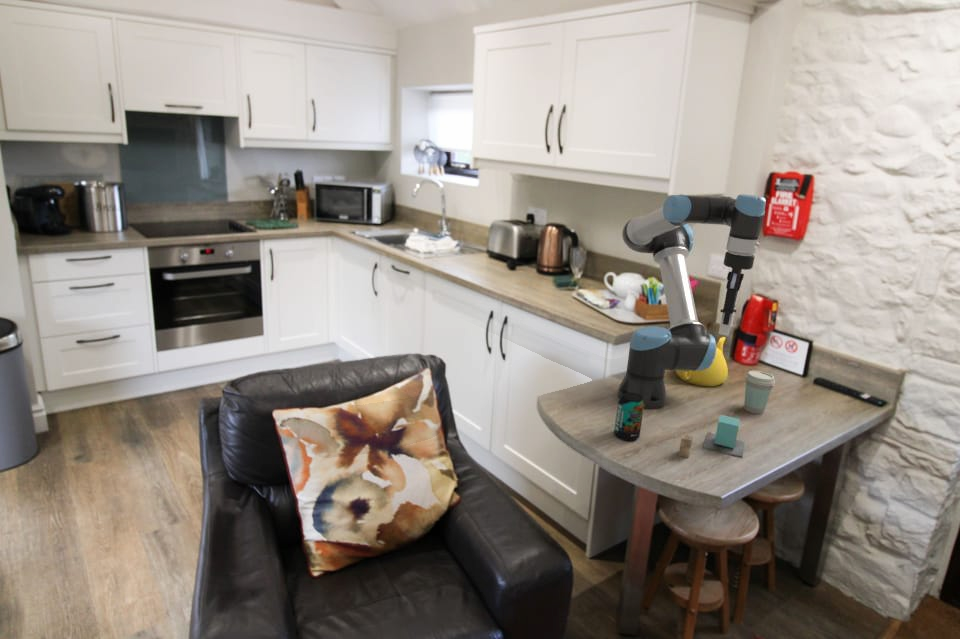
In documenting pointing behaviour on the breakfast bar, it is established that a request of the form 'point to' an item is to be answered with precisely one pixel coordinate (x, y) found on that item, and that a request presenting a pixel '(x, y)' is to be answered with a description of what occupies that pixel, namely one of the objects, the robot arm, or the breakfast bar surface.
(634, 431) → the beverage can
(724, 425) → the teal rectangular block
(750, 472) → the breakfast bar surface
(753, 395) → the coffee cup
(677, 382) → the breakfast bar surface
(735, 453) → the grey square base stand
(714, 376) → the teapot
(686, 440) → the oak stub
